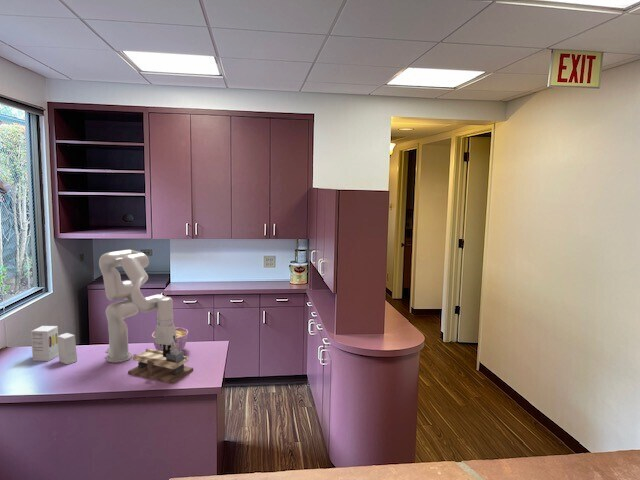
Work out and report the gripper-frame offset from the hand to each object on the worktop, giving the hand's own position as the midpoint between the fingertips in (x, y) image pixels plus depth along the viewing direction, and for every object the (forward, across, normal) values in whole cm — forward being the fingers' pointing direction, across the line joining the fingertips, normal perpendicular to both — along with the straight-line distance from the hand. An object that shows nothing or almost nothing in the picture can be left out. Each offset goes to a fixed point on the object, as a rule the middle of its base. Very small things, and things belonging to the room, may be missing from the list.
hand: (166, 356), depth 219 cm
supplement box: (+9, -74, -10) cm, 75 cm away
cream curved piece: (+2, -4, 0) cm, 5 cm away
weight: (+2, +5, 0) cm, 5 cm away
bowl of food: (+9, -17, +23) cm, 30 cm away
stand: (+9, -4, 0) cm, 10 cm away
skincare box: (+9, -59, -9) cm, 60 cm away
